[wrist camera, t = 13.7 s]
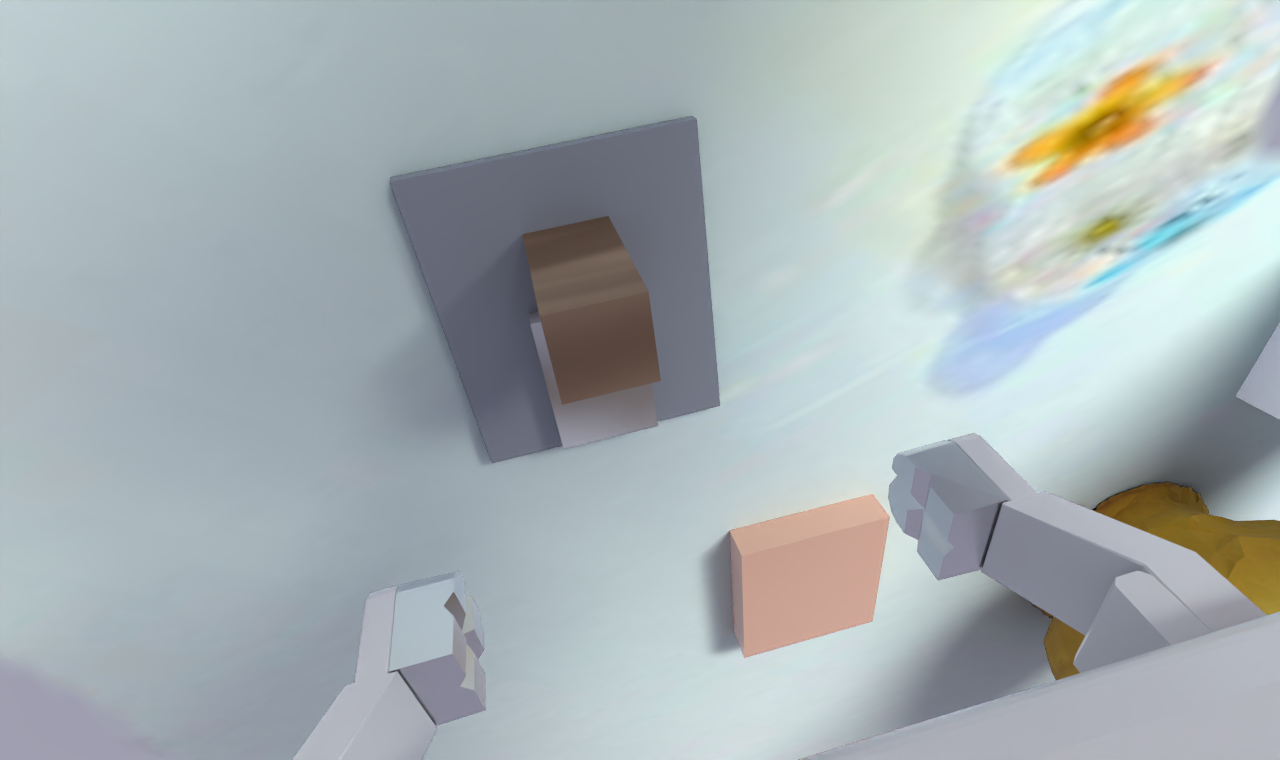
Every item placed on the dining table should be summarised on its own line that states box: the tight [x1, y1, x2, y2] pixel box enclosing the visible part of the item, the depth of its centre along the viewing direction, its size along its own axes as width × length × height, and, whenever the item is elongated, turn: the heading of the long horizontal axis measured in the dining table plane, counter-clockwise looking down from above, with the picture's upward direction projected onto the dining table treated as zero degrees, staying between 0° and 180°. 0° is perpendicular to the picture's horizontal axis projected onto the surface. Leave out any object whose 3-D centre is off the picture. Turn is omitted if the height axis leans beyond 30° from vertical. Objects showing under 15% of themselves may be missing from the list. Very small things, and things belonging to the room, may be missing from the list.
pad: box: [390, 116, 720, 463], centre depth 24 cm, size 12×10×1 cm
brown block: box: [523, 216, 661, 449], centre depth 22 cm, size 9×4×6 cm, turn 9°
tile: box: [730, 494, 890, 658], centre depth 36 cm, size 2×8×9 cm
